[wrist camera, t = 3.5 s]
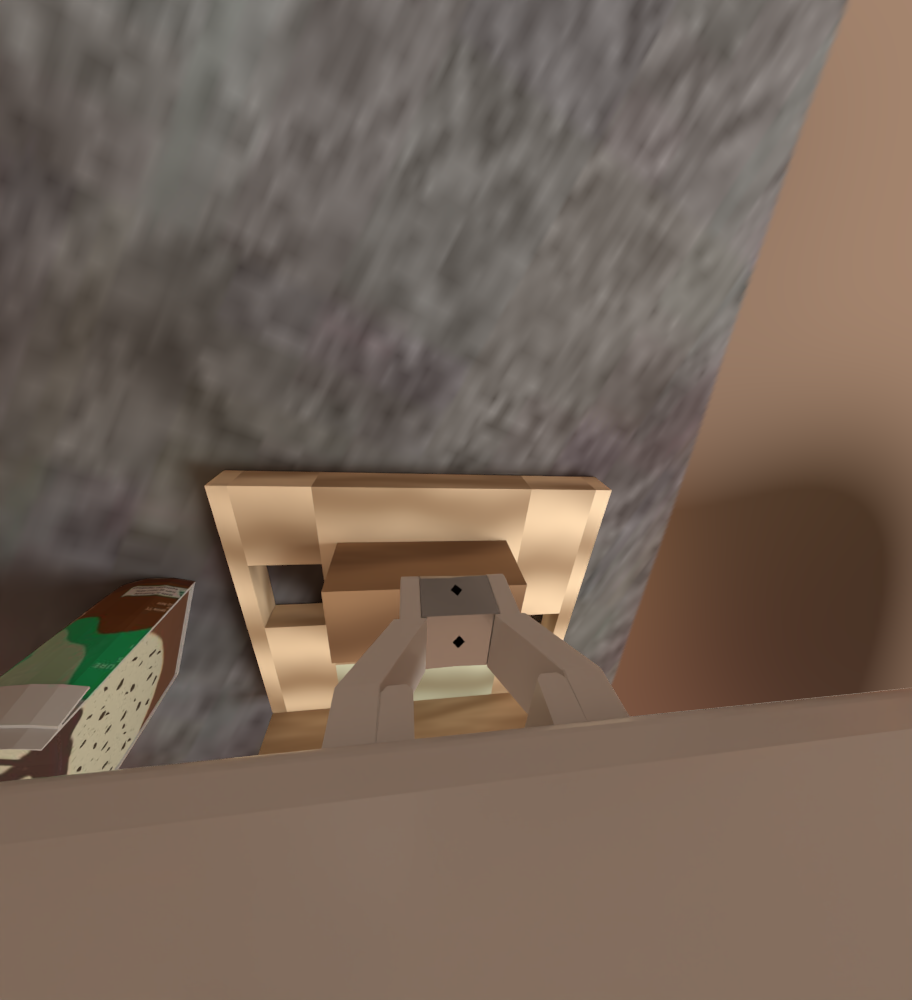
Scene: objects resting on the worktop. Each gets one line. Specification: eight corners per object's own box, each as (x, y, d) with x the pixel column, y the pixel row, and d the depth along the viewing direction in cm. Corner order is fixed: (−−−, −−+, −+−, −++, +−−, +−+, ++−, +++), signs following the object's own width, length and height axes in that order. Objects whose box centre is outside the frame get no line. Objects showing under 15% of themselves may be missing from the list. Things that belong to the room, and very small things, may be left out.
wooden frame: (224, 470, 18) (164, 516, 14) (594, 477, 21) (643, 515, 17) (283, 695, 27) (260, 766, 23) (536, 675, 30) (559, 733, 26)
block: (337, 542, 19) (321, 592, 15) (506, 540, 20) (527, 584, 17) (344, 607, 21) (331, 663, 17) (495, 600, 22) (512, 651, 19)
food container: (75, 534, 19) (-226, 721, 10) (198, 563, 20) (40, 741, 12) (75, 672, 23) (-129, 884, 14) (176, 685, 25) (51, 879, 16)
